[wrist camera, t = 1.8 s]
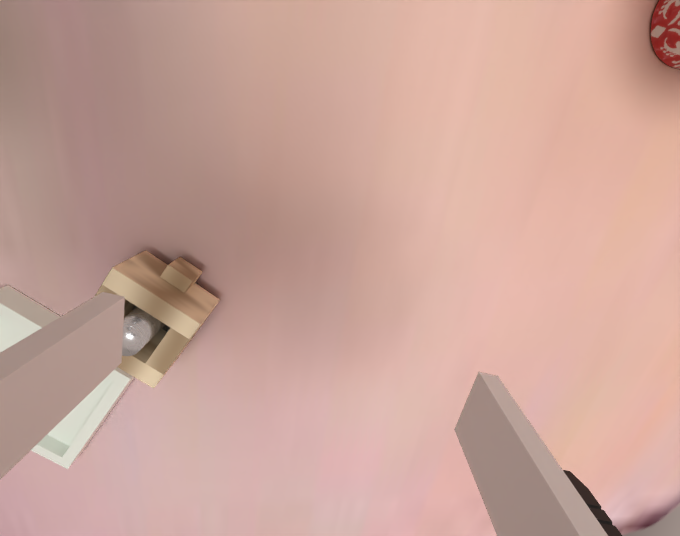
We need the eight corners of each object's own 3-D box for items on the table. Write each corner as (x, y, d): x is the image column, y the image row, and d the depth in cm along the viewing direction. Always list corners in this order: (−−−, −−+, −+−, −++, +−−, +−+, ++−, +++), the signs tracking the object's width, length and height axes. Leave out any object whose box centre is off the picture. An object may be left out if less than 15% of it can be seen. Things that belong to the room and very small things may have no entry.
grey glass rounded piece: (122, 305, 36) (63, 347, 28) (155, 252, 34) (103, 282, 27) (182, 343, 37) (142, 392, 30) (218, 294, 36) (184, 334, 28)
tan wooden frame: (106, 312, 35) (68, 338, 30) (153, 238, 32) (120, 253, 28) (178, 357, 36) (153, 388, 31) (228, 289, 34) (209, 312, 29)
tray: (-44, 385, 39) (-68, 400, 37) (7, 284, 35) (-16, 294, 33) (82, 451, 42) (67, 469, 40) (143, 365, 38) (130, 379, 36)
